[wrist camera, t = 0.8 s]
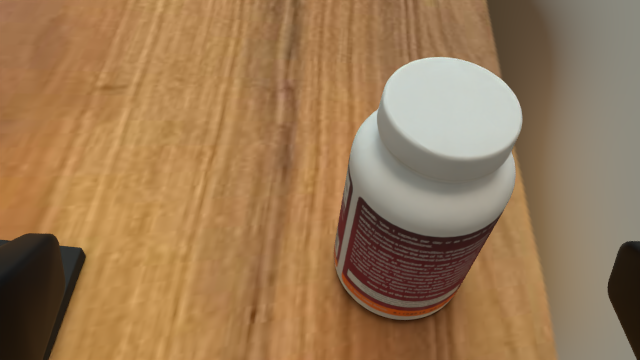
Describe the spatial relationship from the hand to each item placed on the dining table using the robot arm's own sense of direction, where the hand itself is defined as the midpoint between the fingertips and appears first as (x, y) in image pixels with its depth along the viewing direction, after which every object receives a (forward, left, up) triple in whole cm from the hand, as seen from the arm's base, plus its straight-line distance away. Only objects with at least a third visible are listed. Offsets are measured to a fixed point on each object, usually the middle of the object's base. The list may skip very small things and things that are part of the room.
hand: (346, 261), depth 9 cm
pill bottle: (+7, -6, -16) cm, 19 cm away
